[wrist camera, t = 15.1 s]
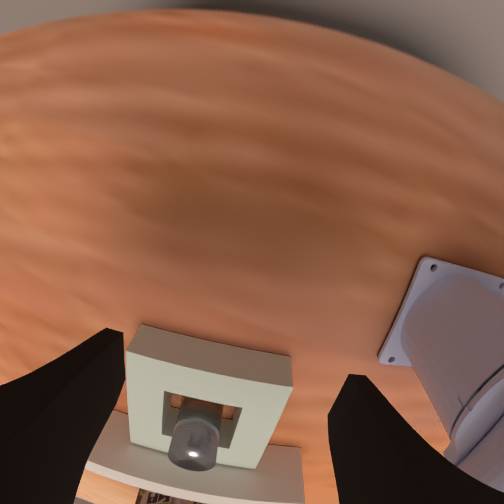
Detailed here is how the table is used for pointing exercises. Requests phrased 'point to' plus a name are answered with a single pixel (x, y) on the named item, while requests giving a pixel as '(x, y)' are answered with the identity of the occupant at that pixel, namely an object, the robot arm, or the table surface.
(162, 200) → the table surface
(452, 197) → the table surface
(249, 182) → the table surface
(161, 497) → the coffee box
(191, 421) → the dowel
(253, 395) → the socket block
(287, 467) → the board
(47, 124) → the table surface
